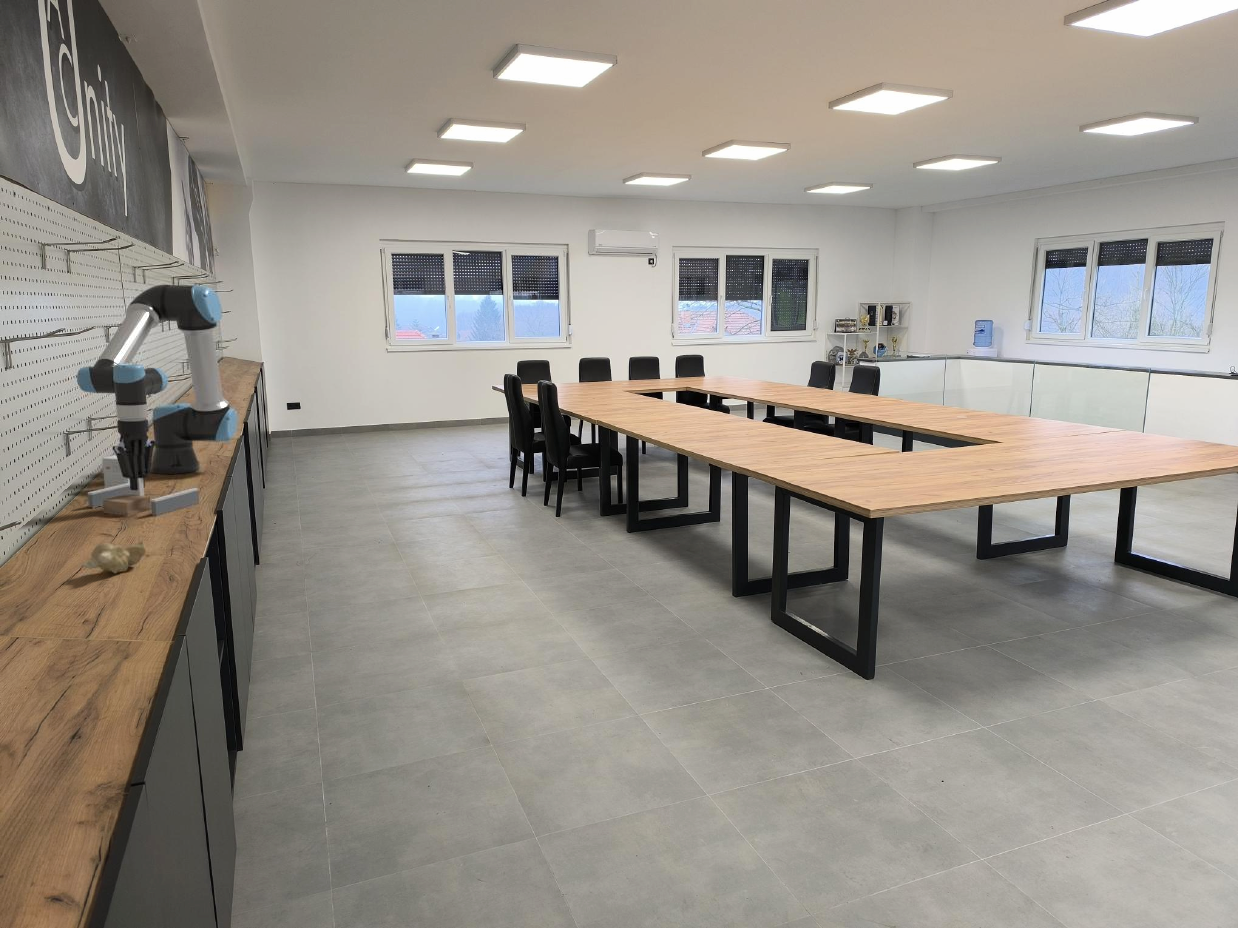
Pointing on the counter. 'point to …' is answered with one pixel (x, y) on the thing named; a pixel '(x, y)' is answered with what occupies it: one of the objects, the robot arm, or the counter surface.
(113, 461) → the small box
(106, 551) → the beige lumpy piece
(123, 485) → the corridor walls
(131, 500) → the walnut block
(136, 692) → the counter surface
